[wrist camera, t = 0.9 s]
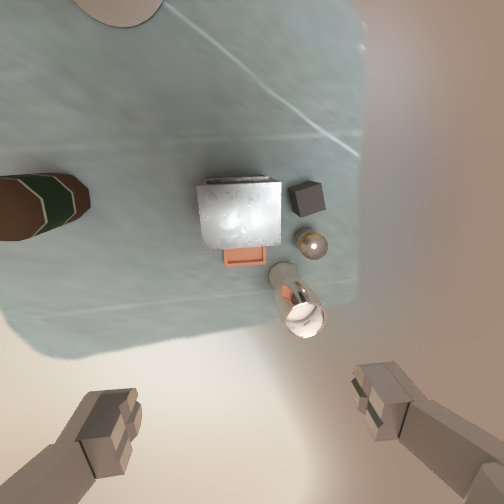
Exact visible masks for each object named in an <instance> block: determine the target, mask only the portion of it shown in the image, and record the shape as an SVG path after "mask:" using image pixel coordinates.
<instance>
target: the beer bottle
mask: <svg viewBox="0 0 504 504" xmlns="http://www.w3.org/2000/svg"><path fill="white" fill-rule="evenodd" d="M89 208H90V201H89V194H88V189H87V188H85V187H84V186H83V185H82V184H81V183H80V182H79V181H78V180H77V179H76V178H75V177H73V176H72V175H64V174H53V173H39V174H24V175H9V176H0V241H21V240H24V239H28V238H31V237H34V236H36V235H39V234H41V233H44V232H46V231H49V230H52V229H54V228H57V227H59V226H62V225H64V224H67V223H70V222H72V221H74V220H76V219H78V218H80V217H81V216H82V215H83V214H84V213H85V212H86V211H87V210H88V209H89Z"/></svg>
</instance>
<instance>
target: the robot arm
mask: <svg viewBox="0 0 504 504" xmlns="http://www.w3.org/2000/svg"><path fill="white" fill-rule="evenodd" d="M73 1H74V2H75V3H76V4H77V5H78V6H79V7H80V8H81V9H82V10H83V11H84V12H86V13H87V14H88V15H90V16H91V17H93V18H94V19H96V20H98V21H100V22H102V23H104V24H107V25H110V26H115V27H131V26H135V25H138V24H141V23H143V22H144V21H146V20H147V19H149V18H150V17H151V16H152V15H153V14H154V13H155V12H156V11H157V9H158V8H159V6H160V5H161V3H162V1H163V0H73ZM353 374H354V376H355V378H354V379H353V380H352V381H351V387H350V389H351V395H352V398H353V401H354V403H355V405H356V407H357V409H358V410H359V411H360V412H362V413H363V414H364V415H365V418H364V422H365V424H366V426H367V428H368V430H369V431H370V433H371V435H372V437H373V439H374V441H375V442H376V441H387V440H397V439H399V442H400V443H402V444H403V445H404V446H405V447H406V448H407V449H408V450H409V451H410V452H412V453H413V454H414V455H415V456H416V457H417V458H418V459H419V460H420V461H422V462H423V463H424V464H425V465H426V466H427V467H428V468H429V469H431V470H432V471H433V472H434V473H435V474H436V475H437V476H438V477H439V478H441V479H442V480H443V481H444V482H445V483H446V484H447V485H448V486H449V487H451V488H452V489H453V490H454V491H455V492H456V493H457V494H459V496H461V497H462V498H463V501H462V503H461V504H504V442H503V441H501V440H500V439H498V438H497V437H495V436H493V435H491V434H490V433H488V432H486V431H485V430H483V429H481V428H479V427H478V426H476V425H475V424H473V423H471V422H469V421H468V420H466V419H464V418H463V417H461V416H459V415H458V414H456V413H454V412H452V411H451V410H449V409H447V408H445V407H444V406H442V405H441V404H439V403H437V402H436V401H434V400H428V399H427V398H426V396H425V395H424V394H423V393H422V392H421V391H420V390H419V388H418V387H417V386H416V385H415V384H414V383H413V381H412V380H411V379H410V378H409V377H408V376H407V375H406V373H405V372H404V371H403V370H402V369H401V368H400V366H399V365H398V364H397V363H395V362H394V361H393V362H383V363H372V364H364V365H356V366H355V367H354V368H353ZM137 396H138V393H137V390H136V388H129V389H116V390H104V391H92V392H89V393H87V394H86V395H85V396H84V397H83V399H82V401H81V402H80V404H79V406H78V407H77V409H76V410H75V412H74V414H73V415H72V417H71V418H70V420H69V421H68V423H67V425H66V426H65V428H64V430H63V431H62V433H61V434H60V436H59V437H58V439H57V441H56V442H55V444H51V445H49V446H47V447H46V448H45V449H44V450H42V451H41V452H40V453H39V454H38V455H36V456H35V457H34V458H33V459H32V460H30V461H29V462H28V463H27V464H26V465H24V466H23V467H22V468H21V469H20V470H19V471H17V472H16V473H15V474H14V475H12V476H11V477H10V478H9V479H8V480H6V481H5V482H4V483H3V484H2V485H1V486H0V504H78V502H79V501H80V500H81V499H82V497H83V496H84V495H85V494H86V492H87V491H88V490H89V489H90V487H91V486H92V485H93V484H94V482H95V479H99V478H105V477H111V476H117V475H124V474H125V471H126V468H127V465H128V462H129V458H130V456H131V453H132V447H131V444H130V443H131V442H132V440H133V439H134V438H135V437H136V436H137V435H138V432H139V429H140V425H141V419H142V408H141V404H140V403H138V402H137V401H136V399H137Z"/></svg>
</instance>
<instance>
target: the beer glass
mask: <svg viewBox="0 0 504 504" xmlns="http://www.w3.org/2000/svg"><path fill="white" fill-rule="evenodd" d="M268 278H269V281H270V283H271V285H272V286H273V287H274V292H275V304H276V309H277V312H278V315H279V317H280V319H281V321H282V324H283V325H284V328H285V330H286V332H287V333H288V334H289V335H290V336H292V337H294V338H299V339H304V338H310V337H312V336H314V335H316V334H318V333H319V332H320V331H321V330H322V329H323V327H324V326H325V324H326V320H327V315H326V312H325V310H324V308H323V306H322V304H321V302H320V300H319V299H318V297H317V295H316V294H315V292H314V291H313V290H312V288H311V287H310V286H309V285H308V284H307V283H305V282H304V281H303V280H302V279H301V278H299V276H298V273H297V270H296V268H295V267H294V266H293V265H292V264H290V263H288V262H281V263H278V264H276V265H274V266H273V267H272V268H271V270H270V272H269V276H268Z"/></svg>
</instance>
